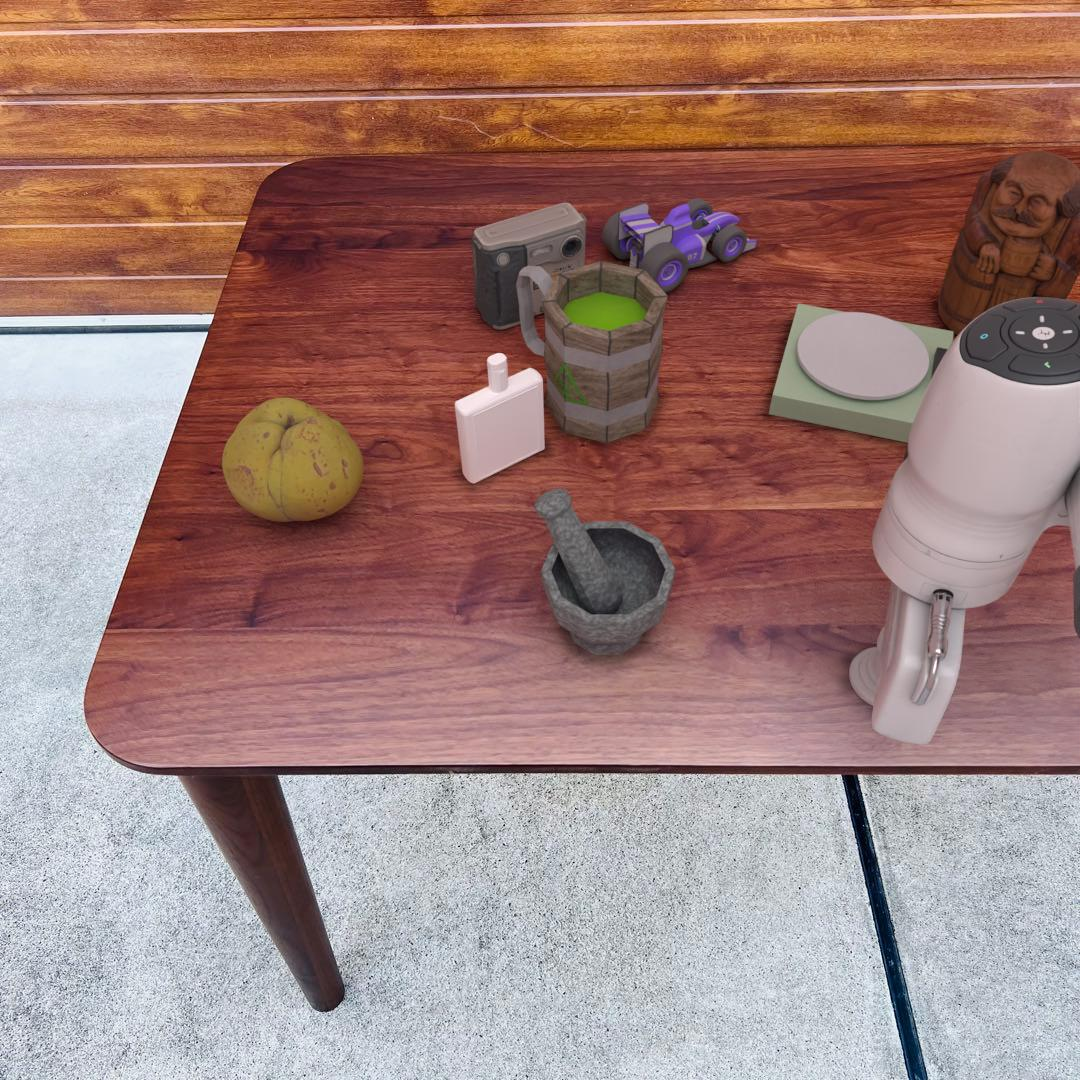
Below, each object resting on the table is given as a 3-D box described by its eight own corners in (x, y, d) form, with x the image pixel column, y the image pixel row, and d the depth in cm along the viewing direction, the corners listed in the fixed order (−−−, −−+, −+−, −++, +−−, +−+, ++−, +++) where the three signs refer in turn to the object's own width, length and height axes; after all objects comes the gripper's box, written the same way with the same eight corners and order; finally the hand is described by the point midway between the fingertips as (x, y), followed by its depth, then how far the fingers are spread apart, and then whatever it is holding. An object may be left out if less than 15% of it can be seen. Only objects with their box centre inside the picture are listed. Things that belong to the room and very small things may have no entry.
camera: (491, 336, 102) (484, 252, 94) (470, 304, 105) (462, 220, 98) (592, 305, 105) (594, 221, 97) (568, 275, 108) (568, 191, 100)
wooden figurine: (917, 322, 102) (973, 157, 88) (942, 290, 105) (999, 125, 91) (1034, 366, 97) (1111, 199, 83) (1056, 331, 100) (1134, 165, 86)
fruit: (264, 574, 83) (232, 493, 76) (224, 482, 90) (191, 399, 82) (388, 524, 86) (370, 442, 79) (341, 439, 93) (320, 356, 85)
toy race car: (764, 255, 109) (773, 202, 104) (649, 301, 105) (653, 247, 100) (711, 213, 115) (718, 160, 110) (600, 255, 110) (602, 202, 105)
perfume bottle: (472, 486, 89) (460, 384, 80) (460, 473, 90) (448, 370, 81) (547, 449, 92) (544, 346, 82) (535, 436, 93) (531, 333, 83)
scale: (946, 351, 99) (957, 322, 96) (934, 448, 91) (945, 420, 88) (793, 323, 102) (799, 294, 99) (768, 414, 94) (774, 385, 91)
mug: (682, 399, 95) (694, 295, 86) (608, 460, 91) (612, 357, 81) (559, 329, 102) (558, 226, 93) (484, 382, 98) (475, 279, 88)
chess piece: (917, 655, 77) (952, 585, 70) (923, 717, 73) (960, 649, 66) (846, 647, 77) (873, 577, 70) (849, 708, 74) (878, 640, 67)
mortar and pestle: (690, 613, 80) (706, 514, 70) (625, 696, 75) (632, 602, 66) (574, 549, 84) (575, 448, 75) (506, 624, 80) (497, 526, 70)
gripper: (996, 688, 55) (927, 797, 66) (1011, 436, 67) (950, 563, 78) (878, 658, 57) (830, 770, 67) (914, 417, 69) (868, 544, 79)
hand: (895, 657), depth 73 cm, fingers open, 5 cm apart
